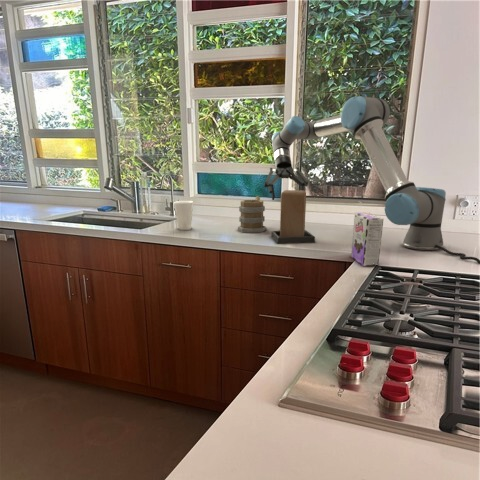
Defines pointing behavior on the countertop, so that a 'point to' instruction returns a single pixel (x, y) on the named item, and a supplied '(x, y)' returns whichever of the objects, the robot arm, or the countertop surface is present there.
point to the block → (292, 213)
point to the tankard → (252, 216)
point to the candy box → (367, 238)
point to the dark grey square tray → (293, 238)
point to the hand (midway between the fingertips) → (288, 197)
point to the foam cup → (184, 214)
